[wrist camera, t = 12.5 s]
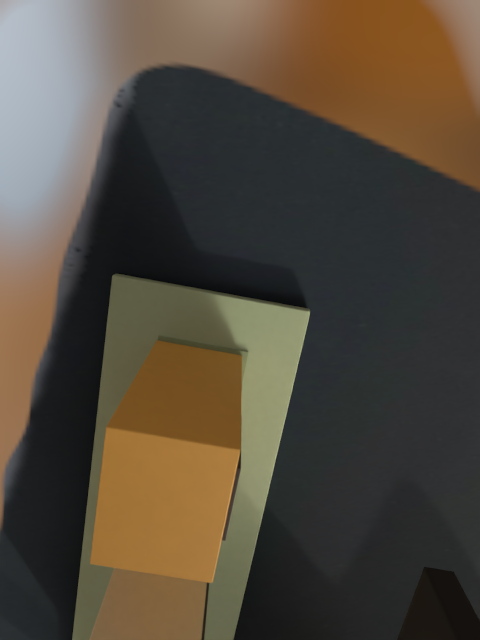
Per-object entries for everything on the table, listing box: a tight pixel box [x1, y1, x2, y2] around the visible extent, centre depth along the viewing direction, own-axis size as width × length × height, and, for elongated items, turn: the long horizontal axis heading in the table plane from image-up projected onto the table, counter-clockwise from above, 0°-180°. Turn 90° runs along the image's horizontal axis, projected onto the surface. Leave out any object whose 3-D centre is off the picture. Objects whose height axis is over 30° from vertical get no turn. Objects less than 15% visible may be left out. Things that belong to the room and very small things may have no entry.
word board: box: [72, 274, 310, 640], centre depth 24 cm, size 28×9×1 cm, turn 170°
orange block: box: [90, 340, 242, 583], centre depth 18 cm, size 5×4×8 cm
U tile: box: [89, 568, 209, 640], centre depth 20 cm, size 5×4×8 cm
